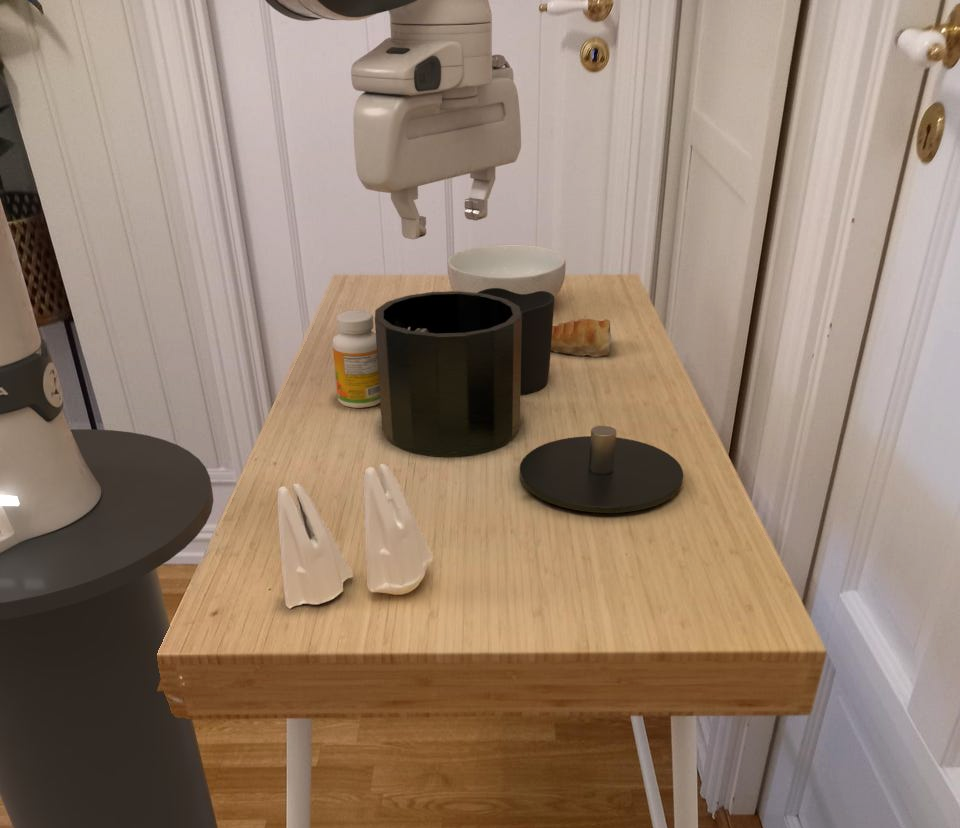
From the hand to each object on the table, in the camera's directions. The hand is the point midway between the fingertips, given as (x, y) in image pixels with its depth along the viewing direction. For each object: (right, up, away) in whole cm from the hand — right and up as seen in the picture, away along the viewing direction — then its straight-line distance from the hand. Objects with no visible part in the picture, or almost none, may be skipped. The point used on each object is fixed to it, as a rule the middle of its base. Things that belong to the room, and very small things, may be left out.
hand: (446, 227), depth 93 cm
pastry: (+16, -2, +33) cm, 37 cm away
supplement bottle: (-11, -12, +19) cm, 25 cm away
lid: (+15, -24, +1) cm, 28 cm away
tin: (0, -17, +12) cm, 21 cm away
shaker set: (-6, -36, -15) cm, 39 cm away
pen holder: (+7, -9, +23) cm, 26 cm away
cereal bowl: (+7, +8, +47) cm, 48 cm away
